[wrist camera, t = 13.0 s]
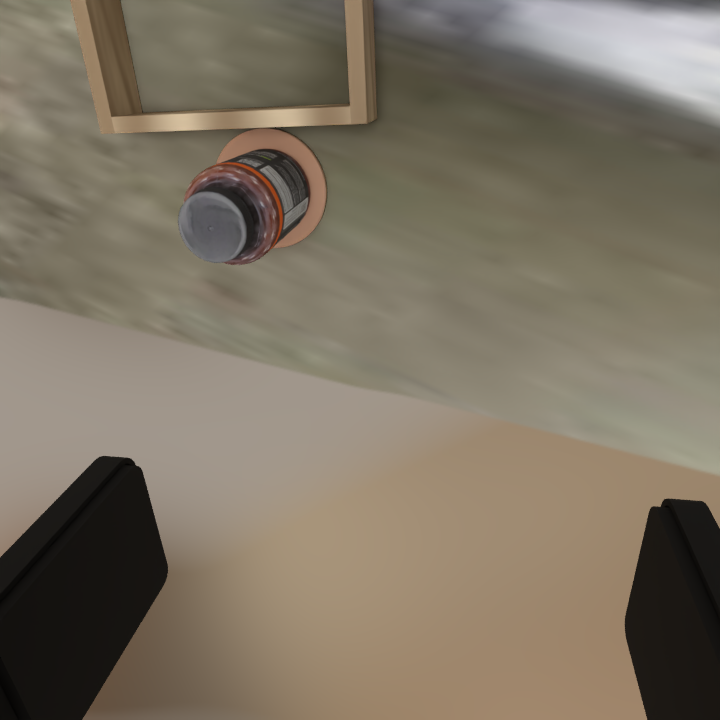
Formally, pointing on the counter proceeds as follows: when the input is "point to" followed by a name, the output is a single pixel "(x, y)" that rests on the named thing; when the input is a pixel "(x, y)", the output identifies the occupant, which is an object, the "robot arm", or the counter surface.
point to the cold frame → (124, 113)
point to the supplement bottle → (243, 206)
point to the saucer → (305, 159)
